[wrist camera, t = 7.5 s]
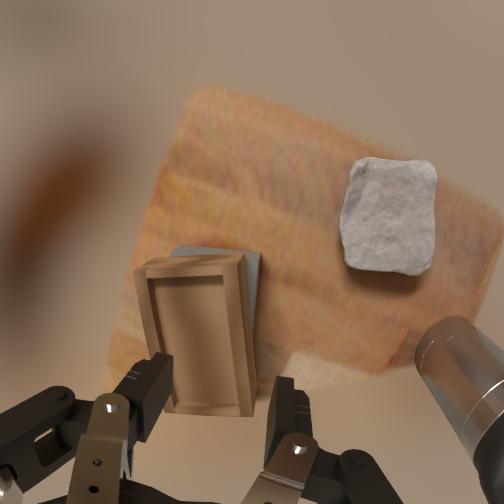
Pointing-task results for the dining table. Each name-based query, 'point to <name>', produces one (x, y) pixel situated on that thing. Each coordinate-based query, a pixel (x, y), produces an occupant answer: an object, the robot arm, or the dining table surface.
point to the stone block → (389, 216)
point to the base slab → (251, 268)
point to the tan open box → (201, 331)
